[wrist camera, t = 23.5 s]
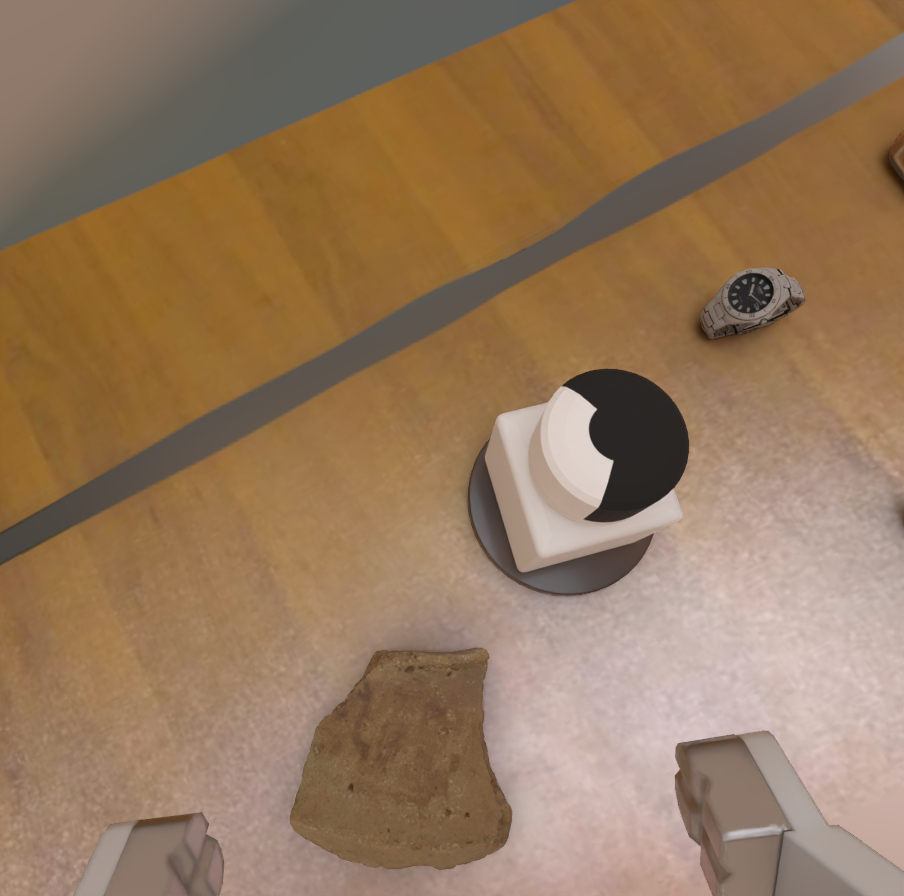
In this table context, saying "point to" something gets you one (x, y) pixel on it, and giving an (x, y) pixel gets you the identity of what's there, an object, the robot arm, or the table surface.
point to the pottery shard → (405, 767)
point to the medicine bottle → (588, 468)
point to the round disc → (554, 578)
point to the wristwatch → (751, 302)
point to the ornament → (898, 155)
